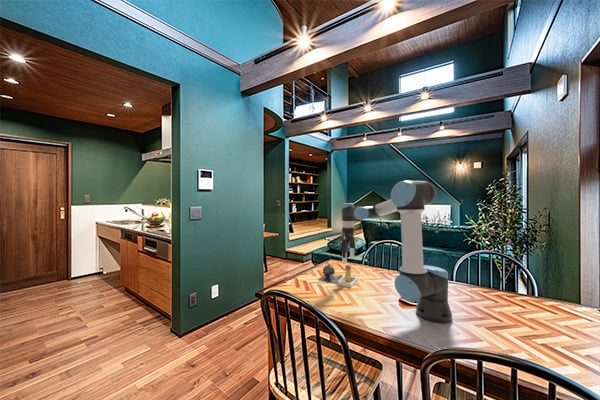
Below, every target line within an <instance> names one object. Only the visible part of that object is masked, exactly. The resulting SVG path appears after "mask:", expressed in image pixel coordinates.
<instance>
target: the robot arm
mask: <svg viewBox="0 0 600 400" xmlns="http://www.w3.org/2000/svg"><path fill="white" fill-rule="evenodd" d="M437 194H438V193H437V188H436V187H435V185H433V183H431V182H429V181H426V180H410V179H409V180H402V181H399V182H397V183H396V184H395V185H394V186H393V187H392V189H391V192H390V199H388V200H385V201H382V202H380V203H376V204H375V205H369V206H368V205H367V206H354V203H353V202H352V203H351V202H347V203H346V202H345V203H342V204H341V227H342V228H341V233H342V234H344V235H342V237H341V239H342V240H341V246H340V247H341V248H340V252H341V255H342V256H341V257H342V258H341V260H342V263H343V264H347V263H348V252H347V250H348V246H349V258H350V259H355V249H356V243H355V237H354V233H355V228H354V227H355V219H356V220H360V221H361V220H368V219H380V218H383V217H384V216H386V215H389V214H392V213H396V212H398V213H399V214H400V231H401V252H402V253H401V256H402V265H401V266H400V267H399V275H397V276H396V277H395V279H394V287H395V290H396V293H397V294H399V296H400V297H401V298H402V299H403V300H405V301H407V302H417V304H416V306H415V311H416V312H415V313H416V314H417V315H418V316H419V317H421V318H422V319H424V320H427V321H429V322H432V323H437V324H446V323H450V322H451V321H452V319H453V313H452V310H451V307H450V303H449V301H448V300H449V299H448V298H449V279H450V278H449V273H448V271H447V270H446V269H444V268H441V267H437V266H433V265H428V264H426V265H425V264H424V252H423V251H424V249H423V248H424V247H423V227H422V213H423V212H424V211H425V206H427V205H431V204H432V203H433V202H435V200H436V198H437Z"/></svg>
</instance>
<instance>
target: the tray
mask: <svg viewBox="0 0 600 400" xmlns="http://www.w3.org/2000/svg"><path fill="white" fill-rule="evenodd" d="M358 282H359V277H357V276H352V275H351V283H347V282H345V275H344V276H343V275H342V278H341V279H340V280H339V281H338V283H337V285H338V286H343V287H346V288H347V287H348V288H353V287H354V286H355V285H356V284H357V283H358Z"/></svg>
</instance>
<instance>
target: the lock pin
mask: <svg viewBox="0 0 600 400" xmlns="http://www.w3.org/2000/svg"><path fill="white" fill-rule="evenodd" d="M344 272H345V273H344V274H345V275H344V276H345V280H344V282H347V283H351V282H352V280H351V276H352V266H351V265H348V264H346V265H345V271H344Z"/></svg>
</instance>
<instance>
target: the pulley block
mask: <svg viewBox="0 0 600 400" xmlns="http://www.w3.org/2000/svg"><path fill="white" fill-rule="evenodd" d="M333 266H334V265H333V264H327V265H326V266H324V267H323V269H322V273H323V275H322V276H321V277H319V278H317V281H321V282H325V283H330V284H334V285H338V281H339V280H340V279H341V278H342V277H343V274H339V276H335V274H336V271H335V268H334V267H333Z"/></svg>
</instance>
